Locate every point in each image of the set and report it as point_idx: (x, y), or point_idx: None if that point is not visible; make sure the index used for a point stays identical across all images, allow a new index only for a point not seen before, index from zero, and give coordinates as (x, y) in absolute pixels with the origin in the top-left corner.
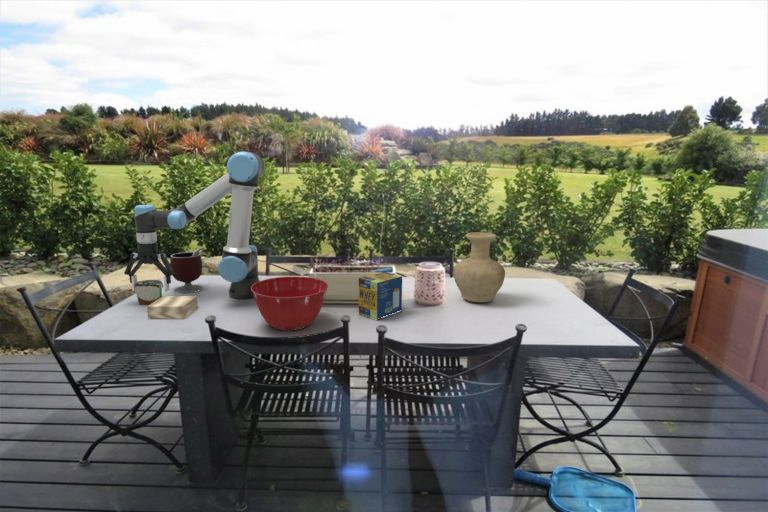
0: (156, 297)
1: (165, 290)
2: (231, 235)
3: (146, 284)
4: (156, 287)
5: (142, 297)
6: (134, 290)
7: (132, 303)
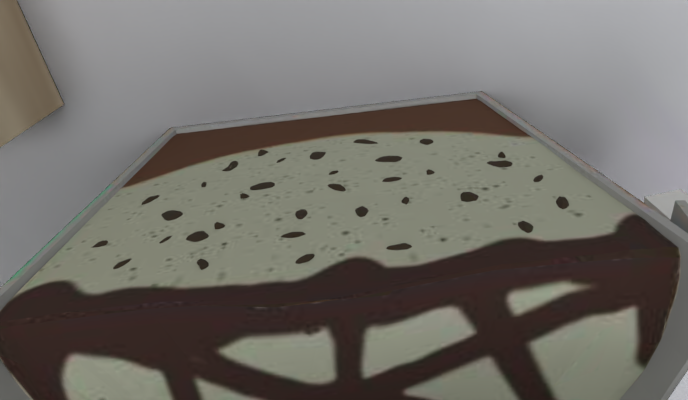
0: (176, 176)
1: None
2: None
3: (349, 294)
4: (93, 282)
5: (438, 144)
6: (652, 205)
7: (623, 144)
